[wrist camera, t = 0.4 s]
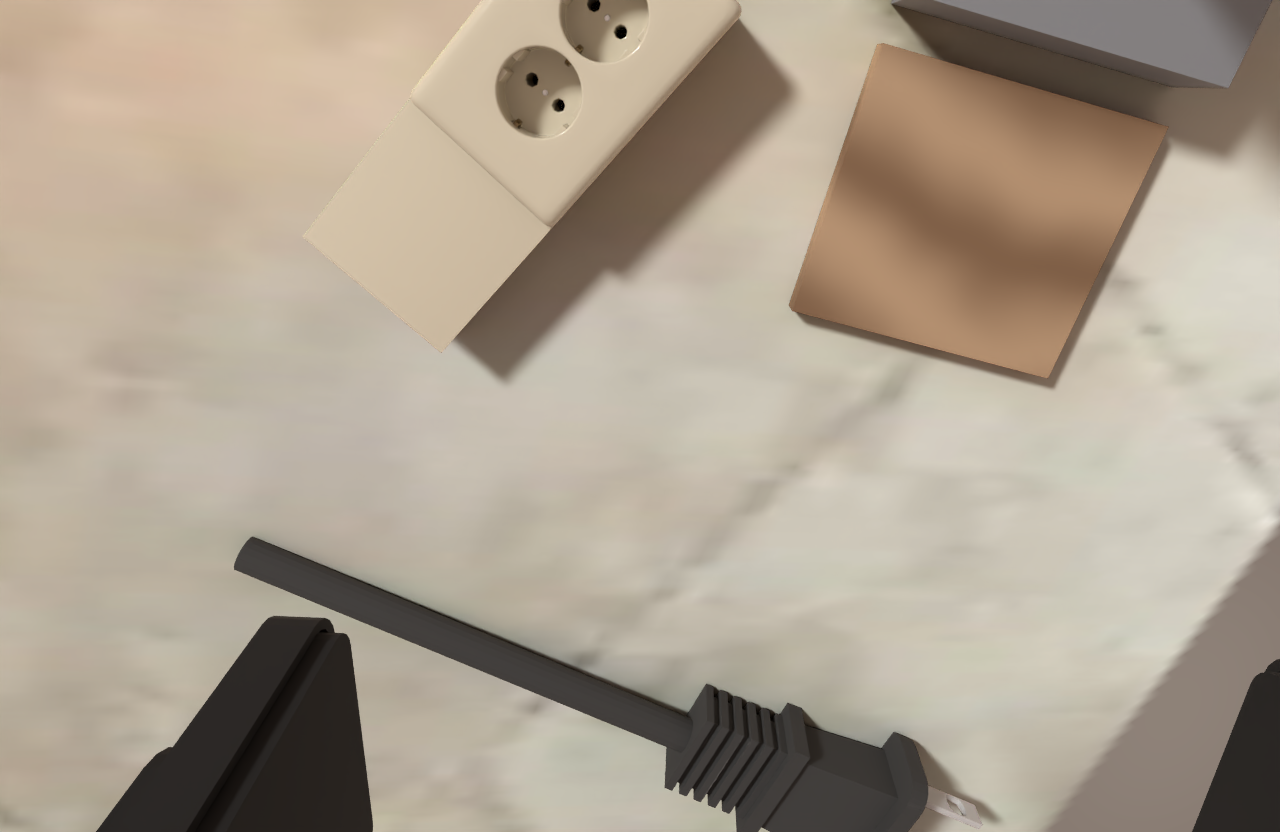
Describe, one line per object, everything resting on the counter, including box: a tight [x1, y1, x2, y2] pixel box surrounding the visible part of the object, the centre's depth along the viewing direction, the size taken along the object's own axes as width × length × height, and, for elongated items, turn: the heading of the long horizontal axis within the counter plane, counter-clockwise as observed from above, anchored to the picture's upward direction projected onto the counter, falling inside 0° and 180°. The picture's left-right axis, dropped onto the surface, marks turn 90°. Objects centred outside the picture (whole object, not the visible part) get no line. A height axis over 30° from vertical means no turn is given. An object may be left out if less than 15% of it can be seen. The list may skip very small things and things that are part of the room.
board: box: [789, 43, 1168, 378], centre depth 35 cm, size 11×12×1 cm
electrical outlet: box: [303, 0, 741, 353], centre depth 33 cm, size 7×4×18 cm
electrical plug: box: [234, 537, 982, 832], centre depth 44 cm, size 9×42×5 cm, turn 65°
